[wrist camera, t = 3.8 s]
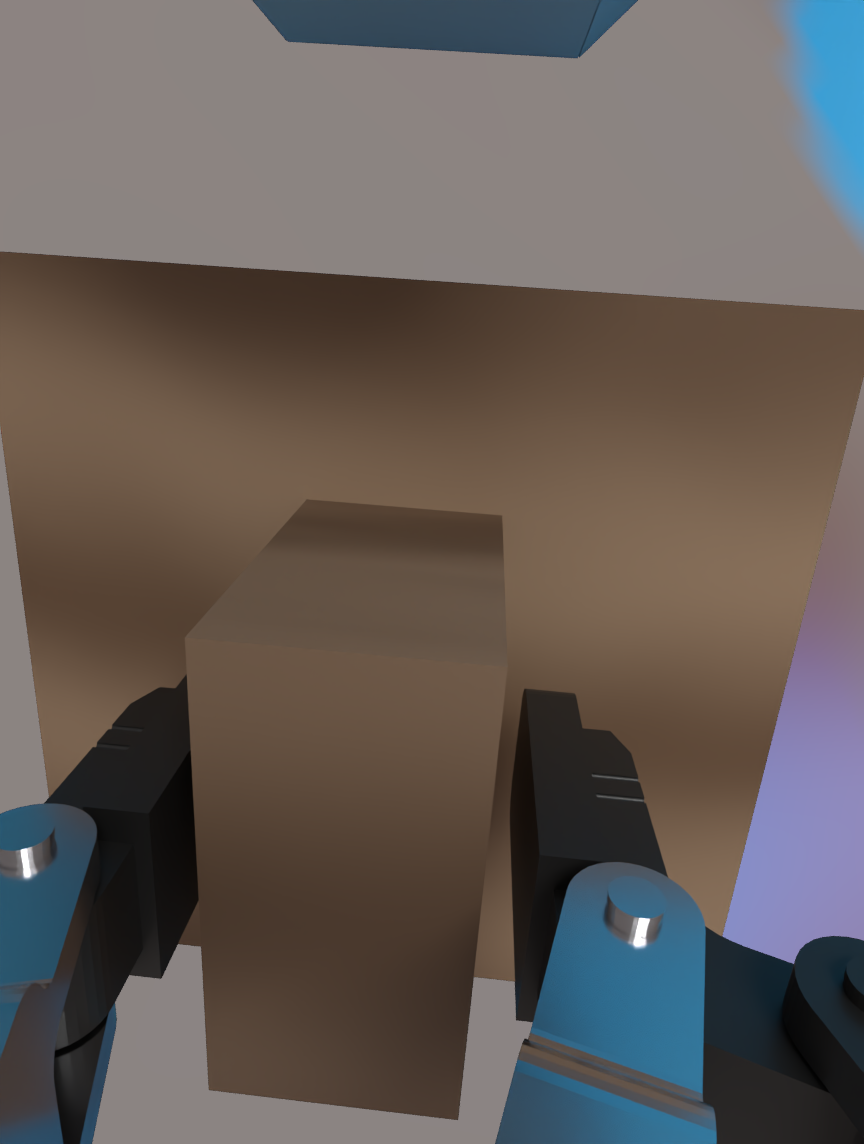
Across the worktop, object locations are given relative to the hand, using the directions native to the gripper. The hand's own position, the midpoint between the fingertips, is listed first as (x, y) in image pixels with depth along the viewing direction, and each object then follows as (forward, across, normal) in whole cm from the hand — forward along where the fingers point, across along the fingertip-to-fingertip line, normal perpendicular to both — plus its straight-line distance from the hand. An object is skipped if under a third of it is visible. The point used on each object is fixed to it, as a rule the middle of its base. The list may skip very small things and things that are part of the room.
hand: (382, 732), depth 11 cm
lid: (+2, 0, 0) cm, 2 cm away
